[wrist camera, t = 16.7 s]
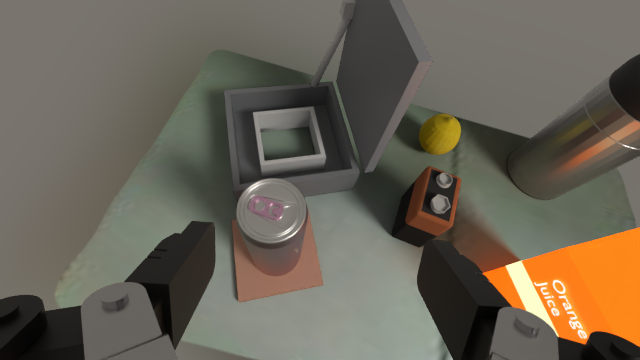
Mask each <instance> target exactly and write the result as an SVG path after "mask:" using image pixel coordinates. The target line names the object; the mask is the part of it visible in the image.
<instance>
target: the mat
mask: <svg viewBox="0 0 640 360" xmlns="http://www.w3.org/2000/svg"><path fill="white" fill-rule="evenodd" d="M232 231H233V243H234V255H235V266H236V278H237V290H238V301H239V302H244V301H248V300H253V299H258V298H263V297H268V296H273V295H277V294H282V293H287V292H292V291H297V290H301V289H306V288H311V287H316V286H321V285H323V280H322V275H321V270H320V266H319V261H318V256H317V251H316V246H315V241H314V236H313V231H312V226H311V221H310V217H309V212H308V220H307V226H306V231H305V236H304V241H303V246H302V251H301V256H300V260H299V262H298V264H297V265H296V267H295V268H294V269H293V270H292V271H290V272H289V273H287V274H285V275H282V276H269V275H266V274H264V273H262V272H261V271H260V270H259V269H258V268H257V267H256V266H255V264H254V262H253V260H252V258H251V255H250V253H249V251H248V249H247V247H246V244H245V242H244V240H243V238H242V236H241V233H240V231H239V229H238V226H237V223H236V219H234V220H232Z"/></svg>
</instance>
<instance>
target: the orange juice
mask: <svg viewBox="0 0 640 360" xmlns="http://www.w3.org/2000/svg"><path fill="white" fill-rule="evenodd" d="M483 275H485V276H486V277H487V278H488V279H489V280H490V283H492V284H493V285H494V286H495V287H496V288H497V290H498V291H499V292H500V293H501V294H502V295H503V296H504V298H505V299H506V300H507V301H508V302H509V303H510V305H511V306H512V307H516V308H520V309H523V310H526V311H528V312H531V313H533V314H534V315H536V316H538V317H540V318H541V319H543V320H544V321H545V322H546V323H548V324H549V325H550V326H551V327H552V329H553V330H554V331H555V333H556V335H557V336H558V337H561V338H565V339H568V340H572V341H575V342H579V343H582V344H585V343H586V341H587V339H588V337H589V335H590V334H591V333H592V332H594V331H603V332H608V333H612V334H614V335H617V336H620V337H622V338H624V339H626V340H628V341H630V342H632V343H634V344H636V345H637V346H639V347H640V228H636V229H632V230H629V231H625V232H622V233H618V234H614V235H611V236H607V237H603V238H600V239H596V240H593V241H589V242H585V243H582V244H578V245H574V246H570V247H566V248H563V249H559V250H556V251H553V252H550V253H546V254H543V255H540V256H537V257H533V258H530V259H527V260H523V261H519V262H516V263H512V264H509V265H506V266H504V267H501V268H498V269H495V270H491V271H488V272H485V273H483Z"/></svg>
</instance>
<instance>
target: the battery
mask: <svg viewBox="0 0 640 360" xmlns="http://www.w3.org/2000/svg"><path fill="white" fill-rule="evenodd" d="M460 184H461V179H460V178H459V177H457V176H454V175H452V174H449V173H446V172H444V171H441V170H438V169H436V168H433V167H430V166H428V167H427V168H426V169H425V170H424V171H423V172H422V174H421V175H420V176H419V177H418V178H417V179H416V181H415V182H414V183H413V184H412V185H411V186H410V188H409V189H408V190H407V191H406V192H405V194H404V195H403V196H402V198H401V202H400V205H399V209H398V212H397V216H396V219H395V223H394V226H393V230H392V236H393V237H395V238H397V239H400V240H402V241H405V242H407V243H410V244H412V245H415V246H417V247H421V246H423V245H424V244H425V243H426V241H427V240H432V239H434V238H435V237H437V236H438V235H440V234H441V233H443V232H444V231H446V230H448V229H449V228H451V227H452V226H453V222H454V217H455V211H456V206H457V200H458V195H459V190H460Z"/></svg>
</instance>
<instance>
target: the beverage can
mask: <svg viewBox="0 0 640 360" xmlns="http://www.w3.org/2000/svg"><path fill="white" fill-rule="evenodd" d="M307 220H308V208H307V205H306V202H305V199H304V197H303V195H302V193H301V192H300V190H299V189H298V188H297V187H296V186H294V185H293V184H292V183H290V182H288V181H285V180H282V179H278V178H268V179H263V180H260V181H257V182H255V183H253V184H252V185H250V186H249V187H248V188H247V189H246V190H245V191H244V192H243V193H242V195H241V197H240V198H239V201H238V204H237V210H236V223H237V226H238V229H239V231H240V233H241V236H242V238H243V240H244V242H245V244H246V247H247V249H248V251H249V253H250V255H251V258H252V260H253V262H254V264H255V266H256V267H257V268H258V269H259V270H260V271H261V272H262V273H264V274H266V275H269V276H282V275H285V274H287V273H289V272H290V271H292V270H293V269H294V268H295V267H296V265H297V264H298V262H299V260H300V256H301V251H302V246H303V241H304V236H305V231H306V226H307Z"/></svg>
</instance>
